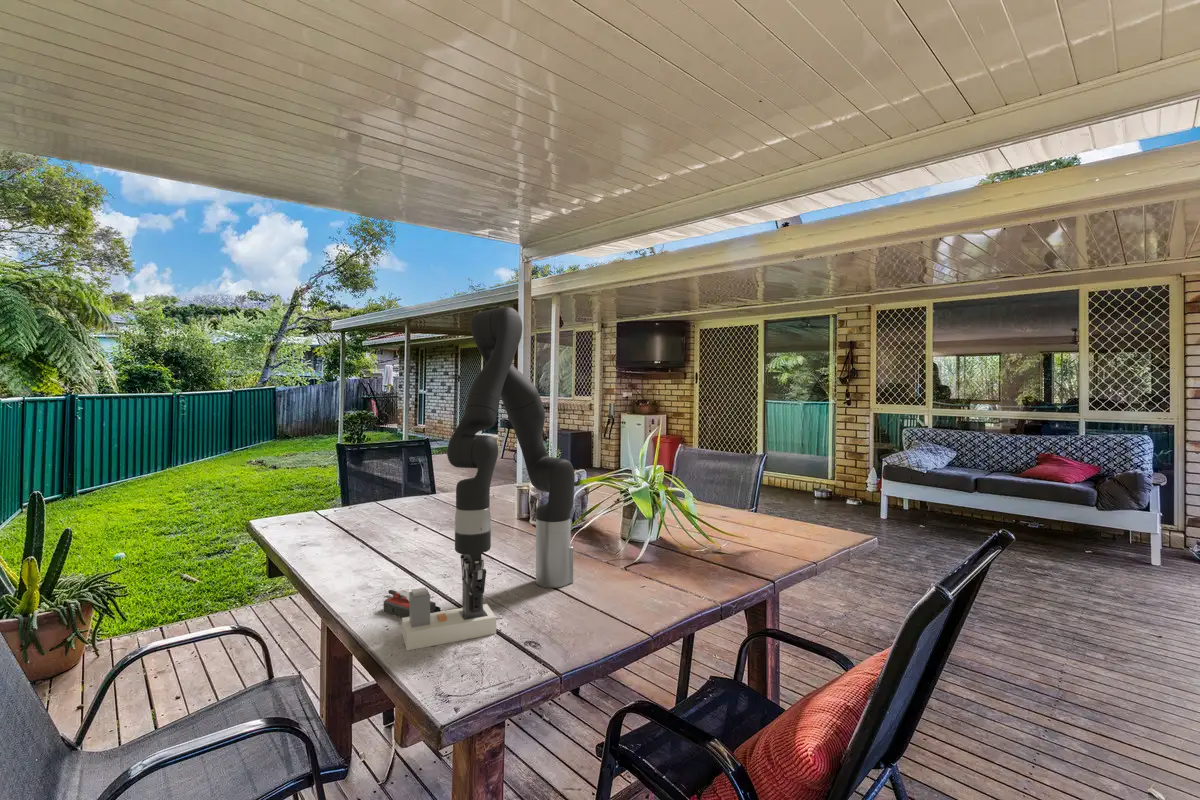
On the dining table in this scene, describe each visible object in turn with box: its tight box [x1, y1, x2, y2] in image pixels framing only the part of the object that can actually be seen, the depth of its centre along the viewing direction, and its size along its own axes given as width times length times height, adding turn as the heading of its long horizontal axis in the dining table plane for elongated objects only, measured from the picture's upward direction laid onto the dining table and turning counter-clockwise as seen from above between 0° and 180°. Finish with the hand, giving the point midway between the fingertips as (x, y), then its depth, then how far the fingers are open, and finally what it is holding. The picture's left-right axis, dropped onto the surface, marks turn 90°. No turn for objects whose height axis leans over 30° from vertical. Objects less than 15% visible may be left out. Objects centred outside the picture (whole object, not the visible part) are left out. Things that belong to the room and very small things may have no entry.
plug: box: [461, 577, 484, 620], centre depth 119 cm, size 4×4×9 cm
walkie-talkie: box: [383, 589, 441, 619], centre depth 131 cm, size 9×4×20 cm
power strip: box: [401, 587, 497, 652], centre depth 117 cm, size 18×8×10 cm, turn 116°
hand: (472, 607), depth 119 cm, fingers closed on plug, 3 cm apart
